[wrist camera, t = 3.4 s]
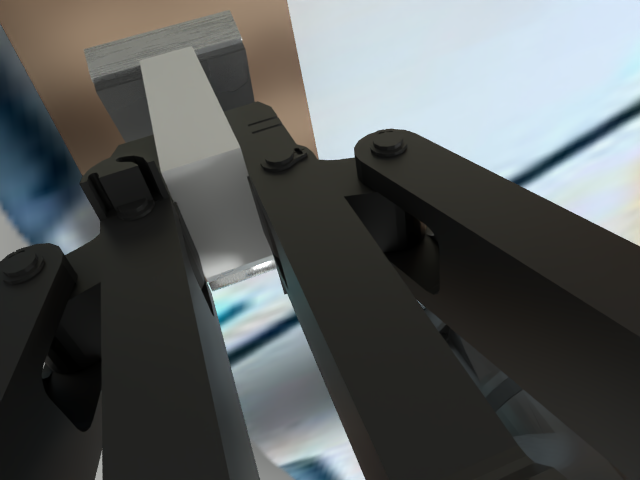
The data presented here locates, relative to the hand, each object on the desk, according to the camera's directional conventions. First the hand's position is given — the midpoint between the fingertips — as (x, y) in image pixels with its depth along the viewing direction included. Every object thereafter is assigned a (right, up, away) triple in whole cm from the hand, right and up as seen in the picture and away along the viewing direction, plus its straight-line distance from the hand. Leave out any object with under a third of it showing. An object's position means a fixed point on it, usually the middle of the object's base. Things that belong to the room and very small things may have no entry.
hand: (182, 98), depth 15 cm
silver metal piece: (-1, -2, +8) cm, 9 cm away
